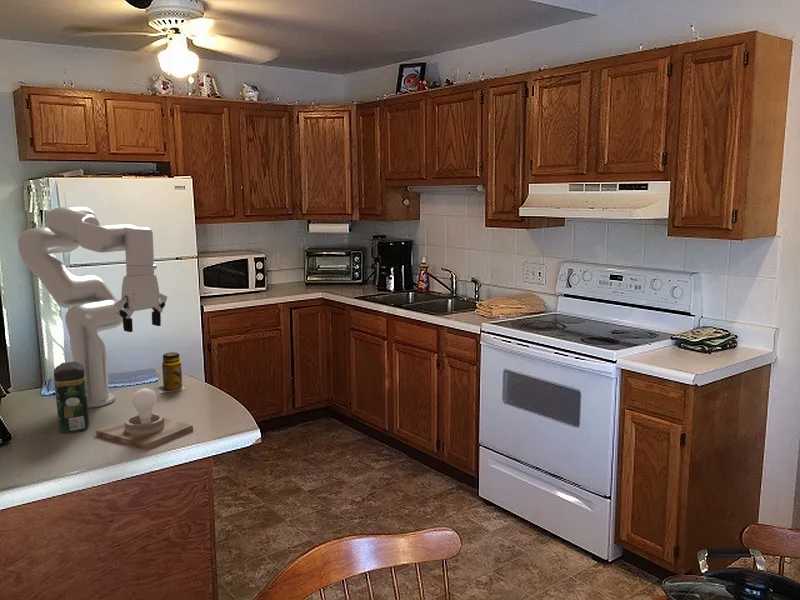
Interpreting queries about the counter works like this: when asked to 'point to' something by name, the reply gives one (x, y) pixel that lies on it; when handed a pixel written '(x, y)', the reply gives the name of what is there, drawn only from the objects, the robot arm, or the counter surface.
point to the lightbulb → (144, 404)
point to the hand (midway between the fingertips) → (142, 328)
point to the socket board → (145, 438)
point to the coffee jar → (71, 397)
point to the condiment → (171, 373)
